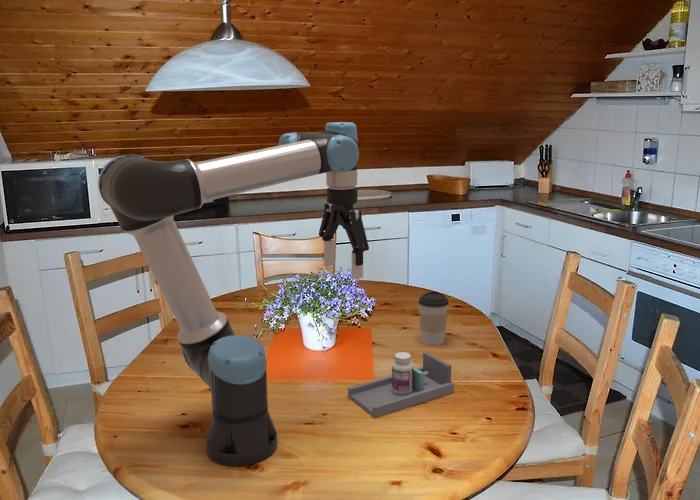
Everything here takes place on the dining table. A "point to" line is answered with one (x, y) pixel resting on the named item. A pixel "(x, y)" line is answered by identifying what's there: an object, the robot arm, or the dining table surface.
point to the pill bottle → (402, 374)
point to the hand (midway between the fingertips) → (342, 271)
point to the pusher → (418, 379)
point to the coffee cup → (433, 317)
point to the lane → (384, 401)
